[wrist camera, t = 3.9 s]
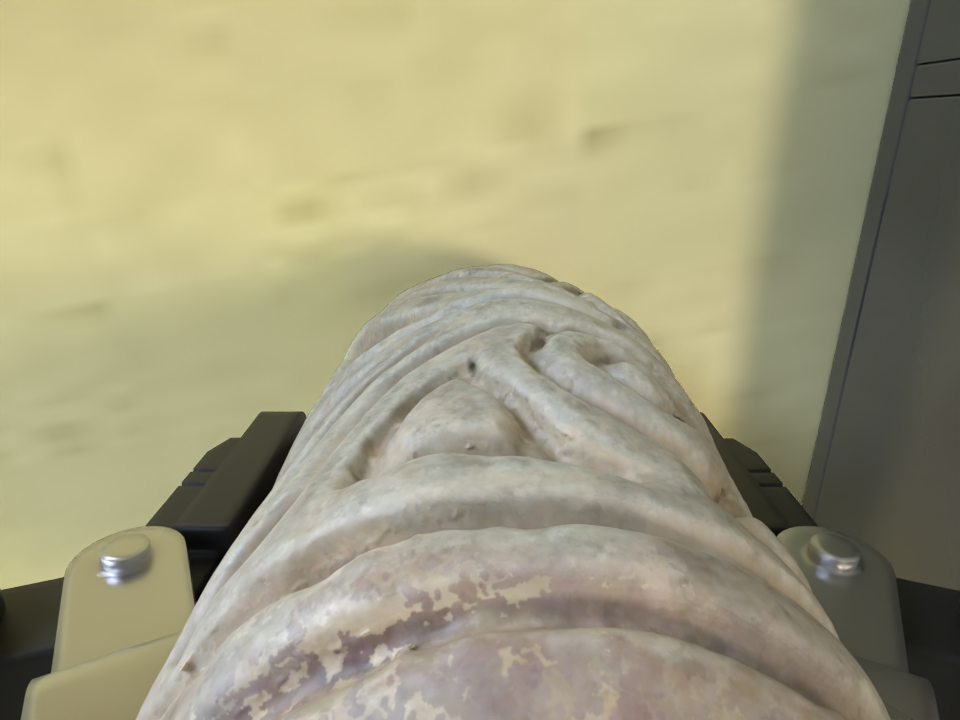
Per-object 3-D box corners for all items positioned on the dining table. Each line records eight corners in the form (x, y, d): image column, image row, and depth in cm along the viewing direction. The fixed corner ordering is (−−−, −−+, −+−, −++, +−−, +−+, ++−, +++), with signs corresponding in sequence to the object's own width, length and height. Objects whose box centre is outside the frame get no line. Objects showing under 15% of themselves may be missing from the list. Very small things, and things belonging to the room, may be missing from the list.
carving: (666, 273, 14) (1420, 859, 3) (549, 535, 17) (704, 1399, 5) (397, 181, 13) (-30, 491, 2) (317, 471, 16) (-68, 1316, 5)
